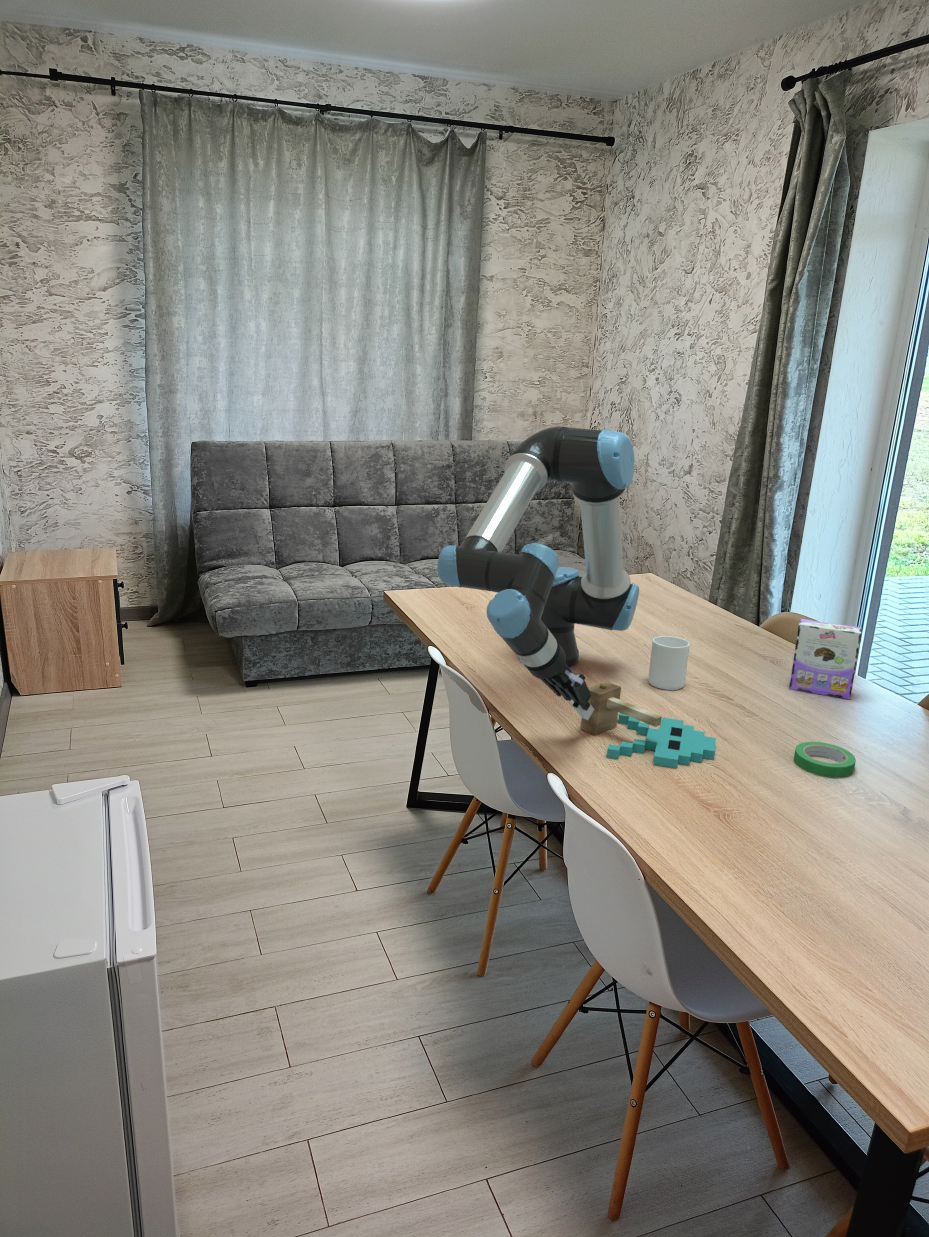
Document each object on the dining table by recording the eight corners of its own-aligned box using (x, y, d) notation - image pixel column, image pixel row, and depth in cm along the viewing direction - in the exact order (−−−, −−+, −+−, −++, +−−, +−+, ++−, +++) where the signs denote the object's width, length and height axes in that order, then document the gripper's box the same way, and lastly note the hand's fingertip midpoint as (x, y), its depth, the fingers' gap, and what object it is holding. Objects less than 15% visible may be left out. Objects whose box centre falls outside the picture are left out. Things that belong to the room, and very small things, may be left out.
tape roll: (847, 784, 169) (850, 771, 168) (787, 768, 175) (789, 755, 174) (858, 763, 178) (860, 751, 177) (800, 748, 184) (802, 736, 183)
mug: (675, 673, 223) (679, 631, 220) (689, 691, 211) (694, 647, 208) (640, 672, 222) (645, 631, 219) (653, 690, 211) (657, 647, 208)
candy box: (851, 692, 215) (863, 626, 211) (850, 700, 210) (862, 633, 205) (790, 681, 221) (800, 617, 216) (788, 689, 216) (798, 623, 211)
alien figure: (606, 759, 175) (712, 776, 170) (607, 748, 175) (714, 765, 170) (619, 720, 194) (715, 735, 189) (620, 711, 193) (716, 725, 188)
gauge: (580, 728, 187) (585, 684, 184) (601, 720, 192) (606, 677, 189) (644, 756, 177) (650, 710, 174) (664, 747, 181) (670, 702, 178)
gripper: (503, 658, 171) (554, 718, 187) (556, 678, 162) (604, 739, 178) (524, 627, 173) (572, 689, 189) (577, 644, 164) (623, 708, 180)
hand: (588, 713), depth 184 cm, fingers closed
